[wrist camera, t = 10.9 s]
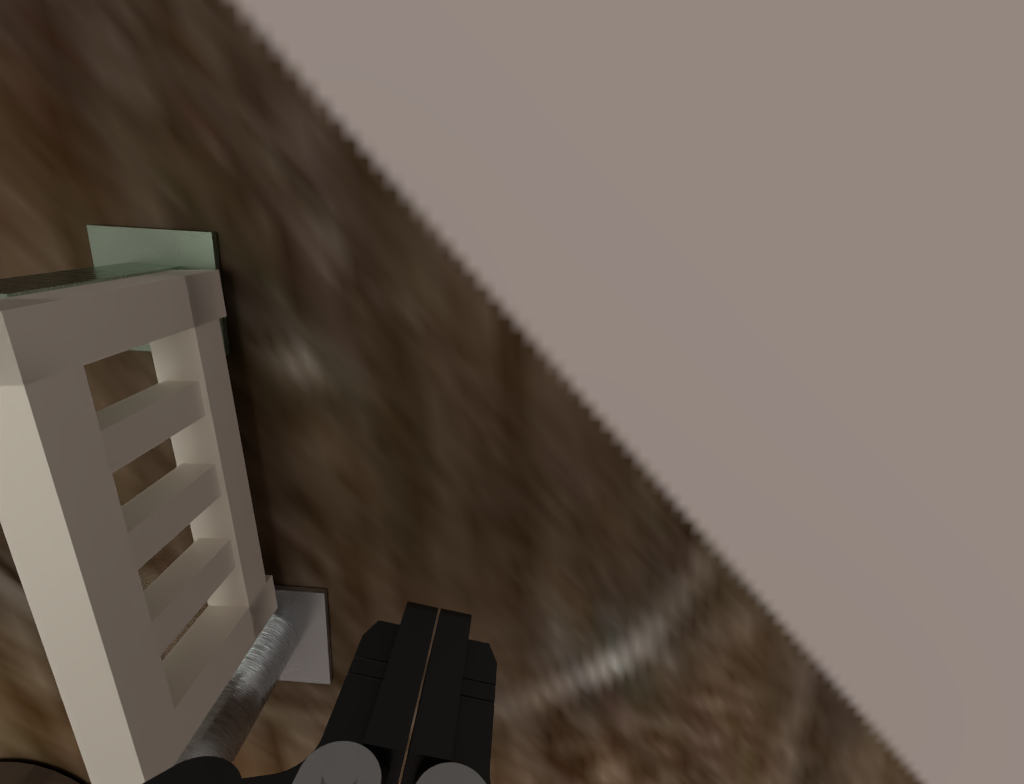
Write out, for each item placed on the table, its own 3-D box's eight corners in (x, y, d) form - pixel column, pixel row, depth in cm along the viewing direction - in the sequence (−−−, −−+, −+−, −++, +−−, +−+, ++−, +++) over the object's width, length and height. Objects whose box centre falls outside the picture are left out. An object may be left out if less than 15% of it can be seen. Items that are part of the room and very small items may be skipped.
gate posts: (332, 679, 25) (188, 1006, 15) (173, 666, 26) (-79, 980, 15) (303, 237, 19) (20, 272, 9) (93, 224, 19) (-432, 243, 9)
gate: (277, 606, 23) (150, 800, 16) (240, 606, 23) (96, 798, 16) (218, 269, 19) (1, 311, 11) (173, 269, 19) (-74, 311, 11)
